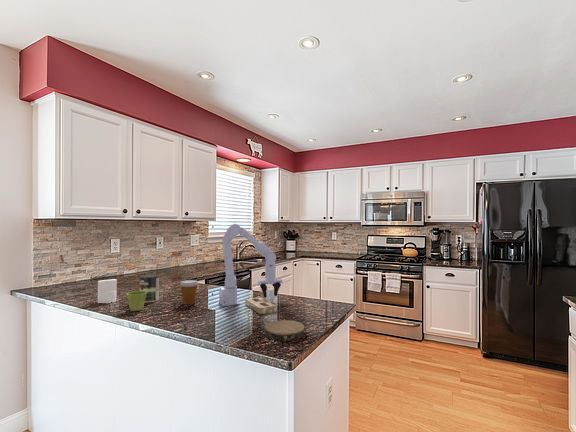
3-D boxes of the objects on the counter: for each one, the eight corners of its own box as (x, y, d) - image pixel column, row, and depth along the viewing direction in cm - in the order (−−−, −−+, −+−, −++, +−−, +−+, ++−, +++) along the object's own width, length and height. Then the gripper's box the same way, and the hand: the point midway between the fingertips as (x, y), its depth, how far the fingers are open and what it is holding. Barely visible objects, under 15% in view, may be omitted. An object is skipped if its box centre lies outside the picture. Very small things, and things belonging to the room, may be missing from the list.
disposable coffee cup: (187, 306, 159) (187, 283, 159) (176, 303, 164) (176, 281, 164) (201, 302, 167) (201, 280, 167) (190, 300, 172) (190, 279, 172)
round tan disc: (309, 330, 124) (309, 323, 124) (295, 344, 109) (295, 336, 109) (275, 325, 130) (275, 318, 130) (257, 337, 116) (257, 329, 116)
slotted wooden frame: (260, 314, 145) (260, 308, 145) (245, 304, 162) (245, 299, 163) (276, 311, 149) (276, 305, 149) (260, 302, 167) (260, 297, 167)
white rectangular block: (99, 304, 162) (99, 282, 162) (96, 301, 168) (96, 280, 169) (117, 301, 168) (118, 280, 168) (114, 298, 174) (114, 278, 175)
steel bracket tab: (270, 303, 166) (270, 290, 166) (266, 301, 170) (266, 288, 171) (273, 302, 167) (273, 290, 167) (269, 300, 171) (269, 288, 172)
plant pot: (121, 311, 149) (122, 293, 149) (137, 306, 158) (137, 290, 158) (135, 313, 146) (136, 295, 146) (150, 308, 155) (151, 291, 155)
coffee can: (148, 303, 164) (148, 277, 165) (134, 301, 168) (135, 276, 169) (162, 299, 174) (163, 274, 174) (149, 297, 178) (149, 273, 178)
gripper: (261, 274, 162) (261, 299, 162) (284, 272, 169) (284, 296, 169) (256, 272, 168) (256, 296, 168) (279, 270, 175) (279, 294, 175)
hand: (270, 296), depth 169 cm, fingers open, 6 cm apart
